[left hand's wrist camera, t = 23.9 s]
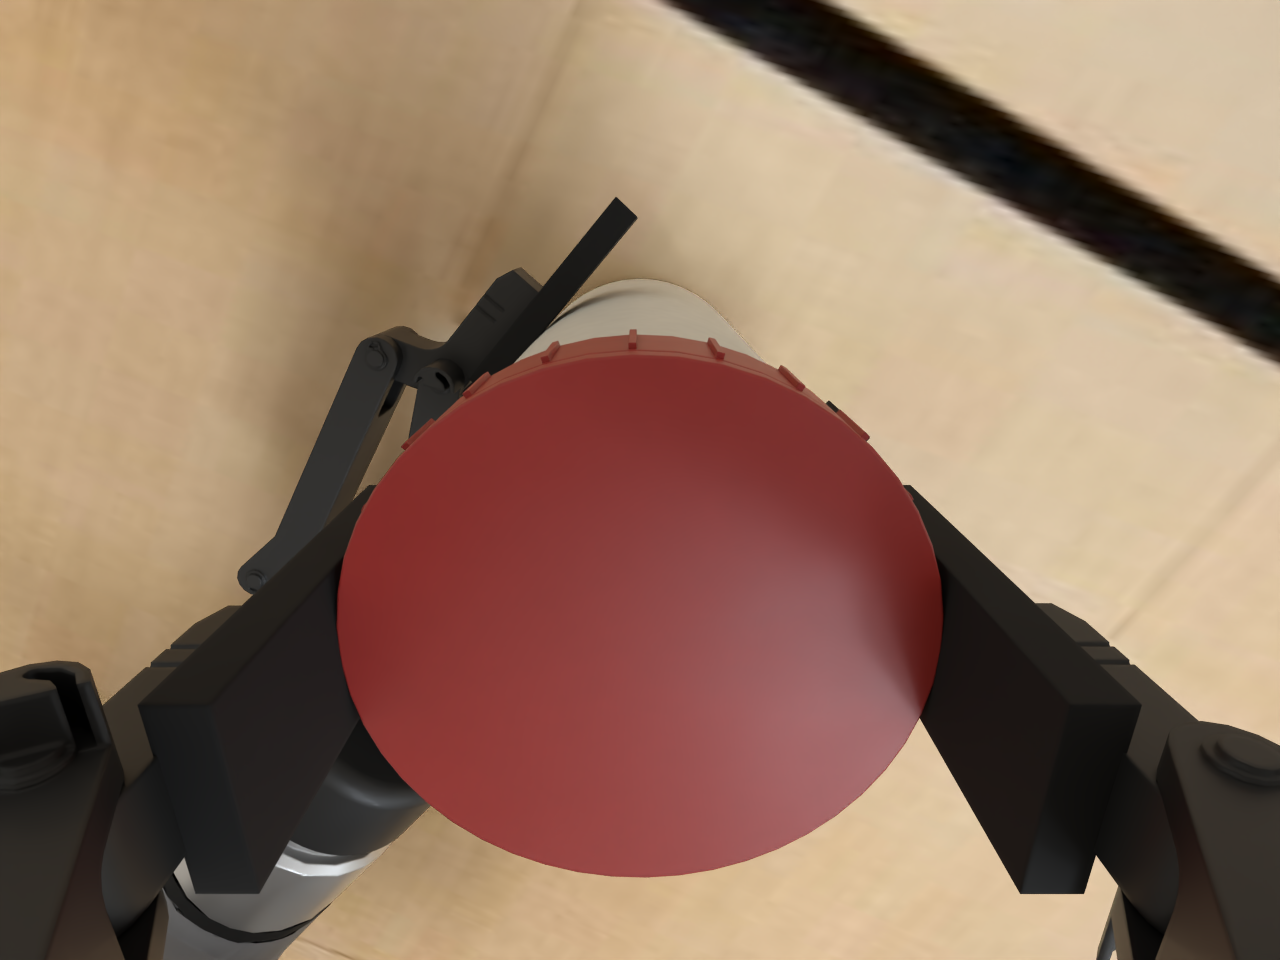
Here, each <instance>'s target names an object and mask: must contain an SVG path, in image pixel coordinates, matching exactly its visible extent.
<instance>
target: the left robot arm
mask: <svg viewBox="0 0 1280 960" xmlns="http://www.w3.org/2000/svg"><path fill="white" fill-rule="evenodd" d="M376 486H377V485H369V486H368V487H367V488H366V489H365V490H364V491H362V492H361V493H360V494H359V495H358V496H357V497H356V498H355V499H354V500H353V501H352V502H351V503H350V504H349V505H348V506H347V507H346V508H345V509H343V510H342V511H341V512H340V513H339V514H338V515H337V516H336V517H335V518H334V519H333V520H332V521H331V522H330V523H329V524H328V525H327V526H326V527H324V528H323V529H322V530H321V531H320V532H319V533H318V534H317V535H316V536H315V537H314V538H313V539H312V540H311V541H310V542H309V543H308V544H307V545H305V546H304V547H303V548H302V549H301V550H300V551H299V552H298V553H297V554H296V555H295V556H294V557H293V558H292V559H291V560H290V561H289V562H288V563H286V564H285V565H284V566H283V567H282V568H281V569H280V570H279V571H278V572H277V573H276V574H275V575H274V576H273V577H272V578H271V579H270V580H269V581H267V582H266V583H265V584H264V585H263V586H262V587H261V588H260V589H259V590H258V591H257V592H256V593H255V594H254V595H253V596H252V597H251V598H250V599H248V600H247V601H246V602H245V603H244V604H243V605H242V606H227V607H225V608H223V609H221V610H219V611H218V612H216V613H214V614H212V615H210V616H208V617H206V618H205V619H203V620H201V621H199V622H197V623H195V624H194V625H193V626H192V627H191V628H189V629H188V630H187V631H186V632H185V633H184V634H183V635H182V636H180V637H179V638H178V639H177V640H176V641H175V642H174V643H173V644H171V649H166V650H165V651H164V652H162V653H161V654H160V655H159V656H158V657H157V658H156V659H155V660H153V661H152V662H151V666H150V667H145V668H144V669H143V670H142V671H141V672H140V673H139V674H138V675H136V676H135V677H134V678H133V679H132V680H131V681H130V682H129V683H127V684H126V685H125V686H124V687H123V688H122V689H121V690H120V691H118V692H117V693H116V694H115V695H114V696H113V697H112V698H111V699H109V700H108V701H107V702H106V703H105V704H104V705H103V706H102V704H101V701H100V698H99V695H98V692H97V689H96V686H95V683H94V679H93V676H92V673H91V670H90V669H89V668H87V667H85V666H84V665H82V664H80V663H79V662H68V661H51V662H44V663H37V664H29V665H26V666H22V667H19V668H15V669H12V670H8V671H5V672H1V673H0V960H163V955H164V948H165V941H166V935H167V928H168V921H169V914H168V907H167V901H166V898H165V895H164V892H163V889H162V888H163V886H164V885H165V883H166V882H167V881H168V879H169V878H170V877H171V875H172V874H173V872H174V871H175V870H176V868H177V867H178V866H179V864H180V863H181V861H182V860H183V859H184V858H185V862H186V865H187V868H188V871H189V875H190V878H191V881H192V884H193V888H194V891H195V894H259V893H260V892H261V890H262V888H263V886H264V885H265V883H266V881H267V879H268V878H269V876H270V874H271V872H272V871H273V869H274V867H275V865H276V864H277V862H278V860H279V858H280V857H281V855H282V853H283V851H284V850H285V848H286V846H287V844H288V843H289V841H290V839H291V838H292V836H293V834H294V832H295V831H296V829H297V827H298V825H299V824H300V822H301V820H302V818H303V817H304V815H305V813H306V811H307V810H308V808H309V806H310V804H311V803H312V801H313V799H314V797H315V796H316V794H317V792H318V790H319V789H320V787H321V785H322V783H323V782H324V780H325V778H326V776H327V775H328V773H329V771H330V769H331V768H332V766H333V764H334V762H335V761H336V759H337V757H338V755H339V754H340V752H341V750H342V748H343V747H344V745H345V743H346V741H347V740H348V738H349V736H350V734H351V733H352V731H353V729H354V727H355V726H356V724H357V722H358V720H359V719H360V716H359V713H358V711H357V709H356V707H355V704H354V702H353V700H352V698H351V695H350V692H349V689H348V685H347V682H346V678H345V675H344V671H343V667H342V662H341V656H340V650H339V643H338V636H337V592H338V586H339V581H340V575H341V570H342V565H343V559H344V555H345V552H346V550H347V547H348V544H349V541H350V538H351V535H352V533H353V530H354V527H355V524H356V522H357V520H358V518H359V516H360V514H361V512H362V511H361V510H362V508H363V506H364V505H365V504H366V503H367V501H368V499H369V498H370V496H371V494H372V492H373V490H374V489H375V487H376ZM903 486H904V488H905V489H906V490H907V491H908V492H909V493H910V494H911V495H912V497H913V500H912V501H913V503H914V505H915V506H916V508H917V510H918V511H919V514H920V516H921V519H922V521H923V523H924V526H925V528H926V531H927V533H928V536H929V538H930V540H931V543H932V545H933V549H934V554H935V558H936V562H937V566H938V570H939V575H940V579H941V588H942V601H943V614H944V617H943V631H942V641H941V647H940V653H939V658H938V664H937V669H936V674H935V679H934V683H933V686H932V688H931V691H930V693H929V696H928V699H927V701H926V704H925V706H924V709H923V711H922V714H921V716H920V719H921V721H922V723H923V725H924V726H925V728H926V730H927V732H928V733H929V735H930V737H931V739H932V740H933V742H934V744H935V746H936V747H937V749H938V751H939V753H940V754H941V756H942V758H943V760H944V761H945V763H946V765H947V767H948V768H949V770H950V772H951V774H952V775H953V777H954V779H955V781H956V782H957V784H958V786H959V788H960V789H961V791H962V793H963V795H964V796H965V798H966V800H967V802H968V803H969V805H970V807H971V809H972V810H973V812H974V814H975V816H976V817H977V819H978V821H979V823H980V824H981V826H982V828H983V830H984V831H985V833H986V835H987V837H988V838H989V840H990V842H991V844H992V845H993V847H994V849H995V851H996V852H997V854H998V856H999V858H1000V859H1001V861H1002V863H1003V865H1004V866H1005V868H1006V870H1007V872H1008V873H1009V875H1010V877H1011V879H1012V880H1013V882H1014V884H1015V885H1016V887H1017V889H1018V891H1019V892H1020V894H1084V892H1085V889H1086V886H1087V883H1088V879H1089V876H1090V873H1091V870H1092V866H1093V863H1094V860H1095V857H1096V855H1097V857H1098V858H1099V860H1100V861H1101V862H1102V864H1103V865H1104V866H1105V868H1106V869H1107V871H1108V872H1109V873H1110V875H1111V876H1112V877H1113V879H1114V880H1115V882H1116V883H1117V884H1118V889H1117V892H1116V895H1115V898H1114V901H1113V904H1112V907H1111V910H1110V913H1109V916H1108V919H1107V922H1106V925H1105V928H1104V931H1103V935H1102V938H1101V941H1100V944H1099V947H1098V952H1097V958H1096V960H1110V958H1111V955H1112V952H1113V951H1114V950H1116V953H1117V959H1118V960H1280V746H1279V745H1277V744H1275V743H1273V742H1271V741H1269V740H1267V739H1265V738H1263V737H1261V736H1259V735H1257V734H1254V733H1251V732H1247V731H1244V730H1241V729H1238V728H1235V727H1232V726H1229V725H1224V724H1217V723H1211V722H1204V721H1198V720H1197V719H1196V718H1195V717H1193V716H1192V715H1191V714H1190V713H1189V712H1188V711H1187V710H1185V709H1184V708H1183V707H1182V706H1181V705H1180V704H1179V703H1177V702H1176V701H1175V700H1174V699H1173V698H1172V697H1171V696H1170V695H1168V694H1167V693H1166V692H1165V691H1164V690H1163V689H1162V688H1160V687H1159V686H1158V685H1157V684H1156V683H1155V682H1154V681H1153V680H1151V679H1150V678H1149V677H1148V676H1147V675H1146V674H1145V673H1143V672H1142V671H1141V670H1140V669H1139V668H1138V667H1137V666H1136V665H1130V663H1129V659H1128V658H1126V657H1125V656H1124V655H1123V654H1122V653H1121V652H1120V651H1118V650H1117V649H1116V648H1115V647H1110V645H1109V642H1108V641H1107V640H1106V639H1105V638H1104V637H1103V636H1101V635H1100V634H1099V633H1098V632H1097V631H1096V630H1095V629H1094V628H1092V627H1091V626H1090V625H1089V624H1088V623H1087V622H1086V621H1084V620H1082V619H1080V618H1078V617H1076V616H1074V615H1073V614H1071V613H1069V612H1067V611H1065V610H1063V609H1061V608H1059V607H1058V606H1056V605H1054V604H1052V603H1034V602H1033V601H1032V600H1031V599H1030V598H1029V597H1028V596H1027V595H1026V594H1025V593H1024V592H1023V591H1022V590H1020V589H1019V588H1018V587H1017V586H1016V585H1015V584H1014V583H1013V582H1012V581H1011V580H1010V579H1009V578H1008V577H1007V576H1006V575H1005V574H1004V573H1003V572H1001V571H1000V570H999V569H998V568H997V567H996V566H995V565H994V564H993V563H992V562H991V561H990V560H989V559H988V558H987V557H986V556H985V555H984V554H983V553H981V552H980V551H979V550H978V549H977V548H976V547H975V546H974V545H973V544H972V543H971V542H970V541H969V540H968V539H967V538H966V537H965V536H964V535H962V534H961V533H960V532H959V531H958V530H957V529H956V528H955V527H954V526H953V525H952V524H951V523H950V522H949V521H948V520H947V519H946V518H945V517H943V516H942V515H941V514H940V513H939V512H938V511H937V510H936V509H935V508H934V507H933V506H932V505H931V504H930V503H929V502H928V501H927V500H926V499H924V498H923V497H922V496H921V495H920V494H919V493H918V492H917V491H916V490H915V489H914V488H913V487H912V486H911V485H903Z"/></svg>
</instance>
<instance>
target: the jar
mask: <svg viewBox="0 0 1280 960" xmlns="http://www.w3.org/2000/svg"><path fill="white" fill-rule="evenodd" d="M630 329H637V335H660V336H675V337H680V338H686V339H692V340H697V341H703V342H707V341H708V338H709V337H710V338H714V339H716V341H717V342H718V344H719V345H720V346H722V347H725V348H728V349H731V350H734V351H737V352H740V353H744V354H747V355H749V356H751V357H753V358H755V359H757V360H759V361H761V362H763V363H765V362H764V361H763V359H762V358H761V357H760V356H759V355H758V354H757V353H756V352H755V351H754V350H753V349H752V348H751V347H750V346H749V345H748V343H747V342H746V341H745V340H744V339H743V338H742V337H741V336H740V335H739V334H738V333H737V332H736V331H735V330H734V329H733V328H732V326H731V325H730V324H729V323H728V322H727V321H726V320H725V319H724V318H723V317H722V316H721V315H720V314H719V313H718V312H717V311H716V310H715V309H714V308H713V307H712V306H711V305H710V304H709V303H708V302H706V301H705V300H703V299H702V298H701V297H699V296H698V295H696V294H695V293H693V292H691V291H689V290H687V289H685V288H683V287H680V286H677V285H674V284H671V283H668V282H664V281H659V280H653V279H628V280H621V281H616V282H612V283H608V284H605V285H603V286H600V287H597V288H595V289H593V290H591V291H589V292H587V293H586V294H584V295H582V296H581V297H579V298H578V299H576V300H575V301H574V302H572V303H571V304H570V305H569V306H568V307H567V308H566V309H565V310H564V311H563V312H562V313H560V315H559V316H558V317H557V318H556V319H555V320H554V321H553V322H552V323H551V324H550V325H549V326H548V327H547V328H546V330H545V331H544V332H543V333H542V334H541V335H540V336H539V337H538V338H537V339H536V340H535V341H534V342H533V343H532V344H531V345H530V347H529V348H528V349H527V350H526V351H525V352H524V353H523V354H522V355H521V356H520V357H519V358H518V359H517V360H516V361H515V363H516V362H518V361H520V360H521V359H524V358H527V357H529V356H532V355H535V354H538V353H540V352H543V351H546V350H547V348H548V347H549V346H550V345H551V343H552V342H555V341H559V344H560V345H565V344H569V343H574V342H578V341H583V340H587V339H591V338H598V337H609V336H620V335H629V332H630ZM765 364H766V363H765Z"/></svg>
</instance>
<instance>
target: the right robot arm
mask: <svg viewBox="0 0 1280 960" xmlns="http://www.w3.org/2000/svg"><path fill="white" fill-rule="evenodd" d="M637 219H638V218H637V216H636V215H635V214H634V213H633V212H632V211H630V210H629V209H628V208H627V207H626V206H625V205H624V204H623V203H622V202H621V201H620V200H619V199H618V198H617V197H615V199H614V200H613V201H612V202H611V204H610V205H609V206H608V207H607V208H606V210H605V211H604V212H603V213H602V215H601V216H600V217H599V218H598V220H597V221H596V222H595V223H594V225H593V226H592V227H591V228H590V229H589V231H588V232H587V233H586V234H585V236H584V237H583V238H582V239H581V241H580V242H579V243H578V244H577V245H576V247H575V248H574V249H573V250H572V252H571V253H570V254H569V255H568V257H567V258H566V259H565V260H564V262H563V263H562V264H561V265H560V266H559V268H558V269H557V270H556V271H555V273H554V274H553V275H552V276H551V278H550V279H549V280H548V281H547V283H546V284H545V285H544V286H542V285H540V284H539V283H538V282H537V281H536V280H535V279H534V278H532V277H531V276H530V275H529V274H528V273H527V272H526V271H525V270H523V269H522V268H518V269H514V270H512V271H510V272H508V273H506V274H505V275H503V276H501V277H499V278H497V279H496V280H495V281H494V283H493V284H492V285H491V287H490V288H489V289H488V290H487V292H486V293H485V294H484V296H483V297H482V298H481V299H480V301H479V302H478V303H477V305H476V306H475V307H474V308H473V309H472V311H471V312H470V313H469V315H468V316H467V317H466V318H465V320H464V321H463V322H462V323H461V325H460V326H459V327H458V329H457V330H456V331H455V332H454V334H453V335H452V336H451V337H450V339H449V340H448V341H447V342H436V341H432V340H429V339H427V338H424V337H422V336H419V335H418V334H417V333H416V332H415V331H413V330H412V329H411V328H408V327H405V326H398V327H394V328H392V329H389V330H387V331H384V332H382V333H379V334H377V335H374V336H372V337H369V338H367V339H365V340H363V341H361V343H360V344H359V345H358V347H357V349H356V351H355V353H354V355H353V358H352V360H351V362H350V365H349V367H348V369H347V372H346V374H345V376H344V379H343V381H342V383H341V385H340V388H339V390H338V392H337V395H336V397H335V399H334V402H333V404H332V406H331V408H330V411H329V413H328V415H327V418H326V420H325V422H324V425H323V427H322V429H321V432H320V434H319V436H318V438H317V441H316V443H315V445H314V448H313V450H312V452H311V455H310V457H309V459H308V462H307V464H306V466H305V468H304V471H303V473H302V475H301V478H300V480H299V482H298V485H297V487H296V489H295V491H294V494H293V496H292V498H291V501H290V503H289V505H288V508H287V510H286V512H285V515H284V517H283V519H282V521H281V524H280V526H279V528H278V531H277V533H276V535H275V537H274V538H273V539H272V540H270V541H269V542H268V543H267V544H266V545H265V546H264V547H263V548H262V549H260V550H259V551H258V552H257V553H256V554H255V555H254V556H253V557H252V558H250V559H249V560H248V561H247V562H246V563H245V564H244V565H243V566H242V567H241V568H240V569H239V571H238V576H237V578H238V581H239V584H240V585H241V587H242V588H243V589H244V590H245V591H247V592H249V593H250V594H253V595H254V594H255V593H256V592H257V591H258V590H259V589H260V588H261V587H262V586H263V585H264V584H265V583H266V582H267V581H269V580H270V579H271V578H272V577H273V576H274V575H275V574H276V573H277V572H278V571H279V570H280V569H281V568H282V567H283V566H284V565H285V564H286V563H288V562H289V561H290V560H291V559H292V558H293V557H294V556H295V555H296V554H297V553H298V552H299V551H300V550H301V549H302V548H303V547H304V546H305V545H307V544H308V543H309V542H310V541H311V540H312V539H313V538H314V537H315V536H316V535H317V534H318V533H319V532H320V531H321V530H322V529H323V528H324V527H326V526H327V525H328V524H329V523H330V522H331V521H332V520H333V519H334V518H335V517H336V516H337V515H338V514H339V513H340V512H341V511H342V510H343V509H345V508H346V507H347V506H348V505H349V504H350V503H351V502H352V500H353V498H354V496H355V494H356V492H357V490H358V487H359V485H360V483H361V481H362V479H363V477H364V475H365V472H366V470H367V468H368V466H369V464H370V462H371V460H372V457H373V455H374V453H375V451H376V449H377V447H378V445H379V442H380V440H381V438H382V436H383V434H384V432H385V430H386V428H387V425H388V423H389V421H390V419H391V417H392V415H393V413H394V410H395V408H396V406H397V404H398V402H399V400H400V398H401V395H402V393H403V391H404V389H405V387H406V385H408V386H411V387H414V388H416V389H417V395H416V400H415V406H414V411H413V417H412V422H411V428H410V433H409V438H410V437H411V436H412V435H414V434H415V433H416V432H417V431H418V430H419V429H420V428H421V427H422V426H423V425H425V424H426V423H427V422H428V421H429V420H430V419H431V418H432V419H433V420H434V421H436V420H437V419H438V418H439V417H440V416H441V415H442V414H443V413H445V412H446V411H447V410H448V409H449V408H450V407H451V406H452V405H453V404H454V403H455V402H456V401H457V400H458V399H459V398H461V397H462V396H463V393H464V392H465V391H466V390H467V389H468V388H469V387H470V386H471V385H472V384H473V383H474V382H475V381H476V380H477V379H479V378H480V377H481V376H482V375H483V374H485V373H486V372H489V374H490V375H491V376H492V375H493V374H495V373H497V372H499V371H501V370H503V369H505V368H507V367H508V366H510V365H512V364H514V363H515V361H516V360H517V359H518V358H519V357H520V356H521V355H522V354H523V353H524V352H525V351H526V350H527V349H528V348H529V347H530V345H531V344H532V343H533V342H534V341H535V340H536V339H537V338H538V337H539V336H540V335H541V334H542V333H543V332H544V331H545V330H546V328H547V327H548V326H549V325H550V323H551V322H552V321H553V320H554V319H555V317H556V316H557V315H558V314H559V313H560V311H561V310H562V309H563V308H564V307H565V305H566V304H567V303H568V302H569V301H570V299H571V298H572V297H573V296H574V295H575V293H576V292H577V291H578V290H579V289H580V287H581V286H582V285H583V284H584V282H585V281H586V280H587V279H588V278H589V276H590V275H591V274H592V273H593V272H594V270H595V269H596V268H597V267H598V266H599V264H600V263H601V262H602V261H603V260H604V258H605V257H606V256H607V255H608V254H609V252H610V251H611V250H612V249H613V247H614V246H615V245H616V244H617V243H618V241H619V240H620V239H621V238H622V237H623V235H624V234H625V233H626V232H627V231H628V229H629V228H630V227H631V226H632V225H633V223H634V222H635V221H636V220H637ZM826 405H827V406H829V407H830V408H831V409H832V410H833V411H834V412H835V413H837V412H838V411H839V409H838V408H837V407H836V406H835V405H833V404H832V403H831V402H830V401H828V402H827V403H826ZM409 438H408V439H409ZM868 439H869V438H868ZM868 439H867V440H868ZM867 440H866V441H867ZM430 806H431V805H430V804H428V803H427V802H426V801H425V800H424V799H423V798H422V797H421V796H419V795H418V794H417V793H416V792H415V791H414V790H413V789H412V788H411V787H410V786H409V785H408V784H407V783H406V782H405V781H404V780H403V779H402V778H401V777H400V776H399V774H398V773H397V772H396V771H395V770H394V768H393V767H392V766H391V765H390V763H389V762H388V761H387V760H386V758H385V757H384V756H383V755H382V754H381V752H380V750H379V749H378V747H377V746H376V744H375V742H374V741H373V739H372V738H371V736H370V734H369V733H368V731H367V729H366V728H365V726H364V725H363V722H362V720H361V718H360V719H359V720H358V722H357V724H356V726H355V727H354V729H353V731H352V733H351V734H350V736H349V738H348V740H347V741H346V743H345V745H344V747H343V748H342V750H341V752H340V754H339V755H338V757H337V759H336V761H335V762H334V764H333V766H332V768H331V769H330V771H329V773H328V775H327V776H326V778H325V780H324V782H323V783H322V785H321V787H320V789H319V790H318V792H317V794H316V796H315V797H314V799H313V801H312V803H311V804H310V806H309V808H308V810H307V811H306V813H305V815H304V817H303V818H302V820H301V822H300V824H299V825H298V827H297V829H296V831H295V832H294V834H293V836H292V838H291V839H290V841H289V843H288V844H287V846H286V848H285V850H284V851H283V853H282V855H281V857H280V858H279V860H278V862H277V864H276V865H275V867H274V869H273V871H272V872H271V874H270V876H269V878H268V879H267V881H266V883H265V885H264V886H263V888H262V890H261V892H260V893H259V894H195V891H194V888H193V884H192V881H191V878H190V875H189V871H188V868H187V865H186V862H185V858H184V859H183V860H182V861H181V863H180V864H179V866H178V867H177V868H176V870H175V871H174V872H173V874H172V875H171V877H170V878H169V879H168V881H167V882H166V883H165V885H164V886H163V888H162V889H163V892H164V895H165V898H166V901H167V907H168V914H169V921H168V928H167V935H166V941H165V948H164V955H163V960H278V959H279V957H280V956H281V954H282V953H283V952H284V950H285V949H286V948H287V947H288V946H289V945H290V944H291V943H292V942H293V941H294V940H295V939H296V938H297V937H298V936H299V935H300V934H301V933H302V932H303V931H304V930H305V929H306V928H307V927H308V926H309V925H310V924H311V923H312V922H313V921H314V920H315V919H316V918H317V917H318V916H319V915H320V913H322V912H323V911H324V910H325V909H326V908H327V907H328V906H329V905H330V904H331V903H332V902H333V901H334V900H335V899H336V898H337V897H338V896H339V895H340V894H341V893H342V892H343V891H344V890H345V889H346V888H347V887H348V886H349V885H350V884H351V883H352V882H354V881H355V880H356V879H357V878H358V877H359V876H360V875H361V874H362V873H363V872H364V871H365V870H366V869H367V868H368V867H369V866H370V865H371V864H372V863H373V862H375V861H376V860H377V859H378V858H379V857H380V856H381V855H382V853H383V852H384V851H385V850H386V849H387V848H388V847H389V846H390V845H391V844H392V842H393V841H394V840H395V839H397V838H398V837H399V836H400V835H401V834H402V833H403V832H404V831H405V830H406V829H407V828H408V827H409V826H410V825H411V824H412V823H413V822H414V821H416V820H417V819H418V818H419V817H420V816H421V815H422V814H423V813H424V812H425V811H426V810H427V809H428V808H429V807H430Z"/></svg>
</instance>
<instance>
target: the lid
mask: <svg viewBox="0 0 1280 960" xmlns="http://www.w3.org/2000/svg"><path fill="white" fill-rule="evenodd" d="M868 438H870V436H869V435H868V434H867V433H866V432H865V431H863V430H862V429H861V428H860V427H859V426H858V425H857V424H856V423H855V422H854V421H852V420H851V419H850V418H849V417H848V416H847V415H846V414H845V413H844V412H842V411H841V410H839V411H838V412H837V413H835V412H834V411H833V410H832V409H831V408H830V407H829V406H827V405H826V404H825V403H824V402H823V401H822V400H821V399H820V398H818V397H817V396H816V395H815V394H814V393H813V392H812V391H810V390H809V389H807V388H806V387H805V385H804V384H803V383H802V382H800V381H799V380H798V379H797V378H796V377H795V376H794V375H793V374H792V373H791V372H790V371H789V370H788V369H787V368H785V367H784V366H782V365H781V366H780V367H779V369H776V368H774V367H772V366H770V365H768V364H765V363H763V362H761V361H759V360H757V359H755V358H753V357H751V356H749V355H747V354H744V353H740V352H737V351H734V350H731V349H728V348H725V347H722V346H720V345H719V344H718V342H717V341H716V339H714V338H710V337H709V338H708V341H707V342H703V341H697V340H692V339H686V338H680V337H675V336H660V335H637V329H630V332H629V335H620V336H609V337H598V338H591V339H587V340H583V341H578V342H574V343H569V344H565V345H560V344H559V341H555V342H552V343H551V345H550V346H549V347H548V348H547V350H546V351H543V352H540V353H538V354H535V355H532V356H529V357H527V358H524V359H521V360H520V361H518V362H516V363H514V364H512V365H510V366H508V367H507V368H505V369H503V370H501V371H499V372H497V373H495V374H493V375H492V376H491V375H490V374H489V372H486V373H485V374H483V375H482V376H481V377H480V378H479V379H477V380H476V381H475V382H474V383H473V384H472V385H471V386H470V387H469V388H468V389H467V390H466V391H465V392H464V393H463V396H462V397H461V398H459V399H458V400H457V401H456V402H455V403H454V404H453V405H452V406H451V407H450V408H449V409H448V410H447V411H446V412H445V413H443V414H442V415H441V416H440V417H439V418H438V419H437V420H436V421H434V420H433V419H432V418H431V419H430V420H429V421H428V422H427V423H426V424H425V425H423V426H422V427H421V428H420V429H419V430H418V431H417V432H416V433H415V434H414V435H412V436H411V437H410V438H409V439H408V440H407V441H406V442H405V443H404V444H403V445H402V446H401V448H403V449H404V450H405V451H404V452H403V453H402V454H401V455H400V456H399V457H398V458H397V459H396V461H395V462H394V463H393V465H392V466H391V467H390V469H389V470H388V471H387V473H386V474H385V475H384V477H383V478H382V479H381V481H380V482H379V483H378V485H377V486H376V487H375V489H374V490H373V492H372V494H371V496H370V498H369V499H368V501H367V503H366V504H365V505H364V506H363V508H362V510H361V511H362V512H361V514H360V516H359V518H358V520H357V522H356V524H355V527H354V530H353V533H352V535H351V538H350V541H349V544H348V547H347V550H346V552H345V555H344V559H343V565H342V570H341V575H340V581H339V586H338V592H337V636H338V643H339V650H340V656H341V662H342V667H343V671H344V675H345V678H346V682H347V685H348V689H349V692H350V695H351V698H352V700H353V702H354V704H355V707H356V709H357V711H358V713H359V716H360V718H361V720H362V722H363V725H364V726H365V728H366V729H367V731H368V733H369V734H370V736H371V738H372V739H373V741H374V742H375V744H376V746H377V747H378V749H379V750H380V752H381V754H382V755H383V756H384V757H385V758H386V760H387V761H388V762H389V763H390V765H391V766H392V767H393V768H394V770H395V771H396V772H397V773H398V774H399V776H400V777H401V778H402V779H403V780H404V781H405V782H406V783H407V784H408V785H409V786H410V787H411V788H412V789H413V790H414V791H415V792H416V793H417V794H418V795H419V796H421V797H422V798H423V799H424V800H425V801H426V802H427V803H428V804H430V805H431V806H432V807H434V808H435V809H436V810H438V811H439V812H440V813H441V814H443V815H444V816H445V817H447V818H448V819H449V820H451V821H452V822H453V823H455V824H457V825H459V826H460V827H462V828H464V829H465V830H467V831H469V832H470V833H472V834H474V835H475V836H477V837H479V838H480V839H482V840H484V841H486V842H489V843H491V844H493V845H495V846H497V847H500V848H502V849H504V850H506V851H508V852H510V853H513V854H516V855H519V856H522V857H525V858H527V859H530V860H533V861H536V862H539V863H542V864H545V865H550V866H554V867H558V868H563V869H567V870H571V871H576V872H582V873H590V874H597V875H605V876H616V877H660V876H675V875H684V874H690V873H696V872H702V871H709V870H714V869H718V868H722V867H725V866H729V865H733V864H737V863H740V862H744V861H747V860H750V859H753V858H755V857H758V856H761V855H763V854H766V853H769V852H771V851H774V850H776V849H779V848H781V847H783V846H785V845H787V844H789V843H791V842H793V841H795V840H797V839H799V838H801V837H803V836H805V835H807V834H808V833H810V832H812V831H813V830H815V829H816V828H818V827H819V826H821V825H822V824H824V823H825V822H827V821H829V820H830V819H832V818H833V817H835V816H836V815H838V814H839V813H840V812H841V811H842V810H844V809H845V808H846V807H847V806H848V805H850V804H851V803H852V802H853V801H855V800H856V799H857V798H858V797H859V796H861V795H862V794H863V793H864V792H865V791H866V790H867V789H868V788H869V787H870V786H871V785H872V784H873V782H874V781H875V780H876V779H877V778H878V777H879V776H880V775H881V774H882V773H883V772H884V771H885V770H886V769H887V767H888V766H889V765H890V763H891V762H892V760H893V759H894V758H895V756H896V755H897V754H898V752H899V751H900V750H901V748H902V747H903V746H904V744H905V743H906V741H907V739H908V737H909V736H910V734H911V732H912V730H913V729H914V727H915V725H916V723H917V721H918V720H919V718H920V716H921V714H922V711H923V709H924V706H925V704H926V701H927V699H928V696H929V693H930V691H931V688H932V686H933V683H934V679H935V674H936V669H937V664H938V658H939V653H940V647H941V641H942V631H943V617H944V614H943V601H942V588H941V579H940V575H939V570H938V566H937V562H936V558H935V554H934V549H933V545H932V543H931V540H930V538H929V536H928V533H927V531H926V528H925V526H924V523H923V521H922V519H921V516H920V514H919V511H918V510H917V508H916V506H915V505H914V503H913V501H912V500H913V497H912V495H911V494H910V493H909V492H908V491H907V490H906V489H905V488H904V486H903V485H902V483H901V482H900V480H899V478H898V477H897V476H896V475H895V473H894V472H893V471H892V470H891V469H890V467H889V466H888V465H887V464H886V463H885V462H884V460H883V459H882V458H881V457H880V456H879V454H878V453H877V452H876V451H875V450H874V448H873V447H872V446H871V445H870V444H868V443H867V442H866V440H867V439H868Z"/></svg>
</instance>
